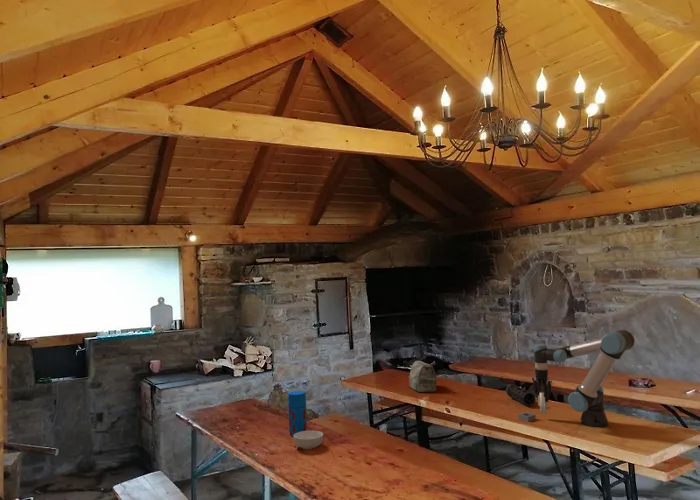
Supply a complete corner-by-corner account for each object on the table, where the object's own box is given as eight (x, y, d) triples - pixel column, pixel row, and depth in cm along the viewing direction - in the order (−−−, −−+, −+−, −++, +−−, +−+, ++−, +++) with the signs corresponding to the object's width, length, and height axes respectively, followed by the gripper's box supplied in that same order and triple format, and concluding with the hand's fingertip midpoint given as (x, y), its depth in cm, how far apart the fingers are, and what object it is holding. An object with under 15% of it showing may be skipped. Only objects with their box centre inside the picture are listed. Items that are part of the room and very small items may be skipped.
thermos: (304, 430, 322) (302, 389, 323) (309, 434, 312) (307, 393, 313) (287, 432, 318) (286, 392, 319) (291, 437, 308) (290, 395, 309)
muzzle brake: (523, 408, 351) (522, 392, 352) (505, 398, 379) (504, 384, 379) (536, 407, 353) (535, 391, 353) (517, 397, 380) (516, 383, 381)
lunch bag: (439, 392, 405) (438, 364, 406) (417, 393, 402) (416, 365, 403) (428, 384, 431) (427, 358, 432) (408, 386, 427) (406, 360, 428)
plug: (547, 413, 324) (546, 392, 324) (544, 414, 322) (543, 393, 322) (542, 412, 327) (541, 391, 327) (539, 413, 325) (538, 392, 325)
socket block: (535, 419, 325) (535, 414, 325) (528, 421, 321) (527, 416, 321) (526, 416, 331) (525, 412, 331) (518, 419, 327) (518, 414, 327)
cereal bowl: (329, 446, 290) (329, 433, 290) (306, 454, 278) (306, 441, 279) (310, 440, 302) (310, 427, 303) (287, 447, 291) (287, 435, 291)
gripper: (526, 367, 330) (528, 404, 329) (548, 371, 316) (550, 410, 315) (534, 366, 334) (536, 402, 333) (556, 370, 320) (558, 407, 319)
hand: (543, 406), depth 324 cm, fingers closed on plug, 3 cm apart
